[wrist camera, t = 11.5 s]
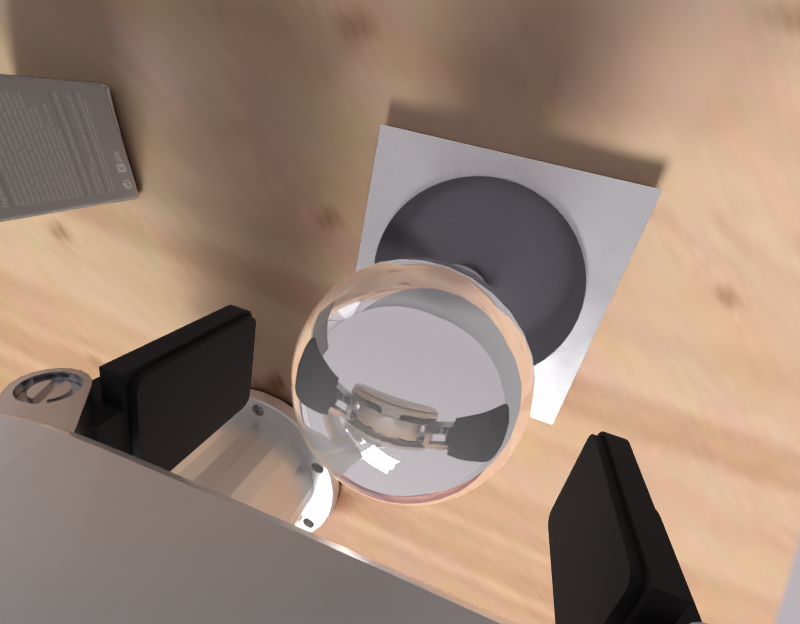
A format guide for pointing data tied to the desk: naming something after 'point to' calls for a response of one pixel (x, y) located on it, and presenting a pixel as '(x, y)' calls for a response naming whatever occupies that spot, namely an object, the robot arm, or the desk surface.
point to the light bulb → (412, 381)
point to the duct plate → (510, 237)
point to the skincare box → (59, 147)
